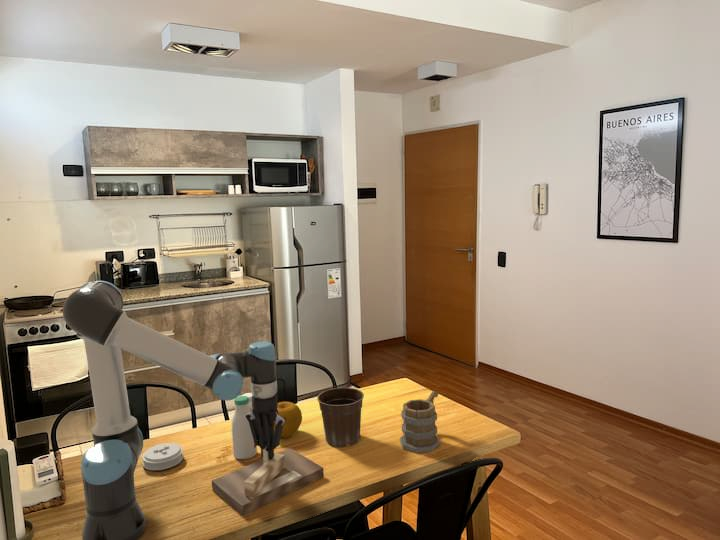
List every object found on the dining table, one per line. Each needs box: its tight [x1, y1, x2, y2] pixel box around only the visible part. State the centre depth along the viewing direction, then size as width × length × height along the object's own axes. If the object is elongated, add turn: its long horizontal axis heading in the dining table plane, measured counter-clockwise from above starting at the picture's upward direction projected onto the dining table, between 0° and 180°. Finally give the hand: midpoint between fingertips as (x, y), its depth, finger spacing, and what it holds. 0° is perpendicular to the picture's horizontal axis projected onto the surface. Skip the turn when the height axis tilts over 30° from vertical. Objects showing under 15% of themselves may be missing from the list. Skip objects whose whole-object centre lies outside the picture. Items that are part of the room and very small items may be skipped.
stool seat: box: [211, 447, 325, 517], centre depth 161 cm, size 28×18×3 cm, turn 132°
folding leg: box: [244, 452, 285, 497], centre depth 156 cm, size 17×3×4 cm, turn 157°
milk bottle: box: [231, 395, 258, 460], centre depth 178 cm, size 8×8×20 cm
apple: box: [274, 401, 303, 439], centre depth 192 cm, size 13×13×11 cm
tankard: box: [399, 390, 441, 454], centre depth 184 cm, size 20×13×15 cm, turn 143°
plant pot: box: [317, 387, 365, 448], centre depth 186 cm, size 16×16×16 cm
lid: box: [141, 442, 184, 471], centre depth 175 cm, size 13×13×5 cm
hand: (268, 468), depth 161 cm, fingers closed
